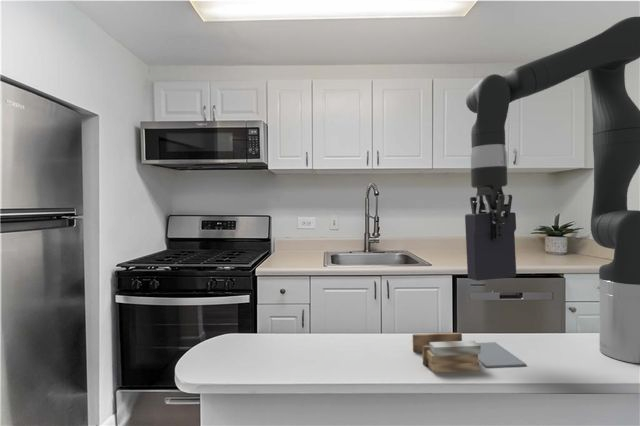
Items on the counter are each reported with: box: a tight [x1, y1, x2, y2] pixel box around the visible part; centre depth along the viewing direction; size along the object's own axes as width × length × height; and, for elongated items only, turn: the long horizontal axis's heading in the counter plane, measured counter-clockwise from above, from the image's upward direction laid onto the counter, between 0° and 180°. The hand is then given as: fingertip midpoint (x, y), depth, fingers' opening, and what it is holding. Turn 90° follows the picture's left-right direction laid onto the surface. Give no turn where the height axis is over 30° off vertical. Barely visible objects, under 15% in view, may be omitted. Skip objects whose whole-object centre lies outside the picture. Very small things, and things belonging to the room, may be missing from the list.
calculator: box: [464, 211, 517, 281], centre depth 79 cm, size 11×4×15 cm, turn 104°
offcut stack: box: [427, 340, 481, 373], centre depth 73 cm, size 11×3×5 cm, turn 93°
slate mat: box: [477, 341, 527, 368], centre depth 79 cm, size 9×12×1 cm
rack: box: [412, 332, 463, 366], centre depth 79 cm, size 12×8×4 cm, turn 93°
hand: (490, 239), depth 79 cm, fingers closed on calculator, 4 cm apart
